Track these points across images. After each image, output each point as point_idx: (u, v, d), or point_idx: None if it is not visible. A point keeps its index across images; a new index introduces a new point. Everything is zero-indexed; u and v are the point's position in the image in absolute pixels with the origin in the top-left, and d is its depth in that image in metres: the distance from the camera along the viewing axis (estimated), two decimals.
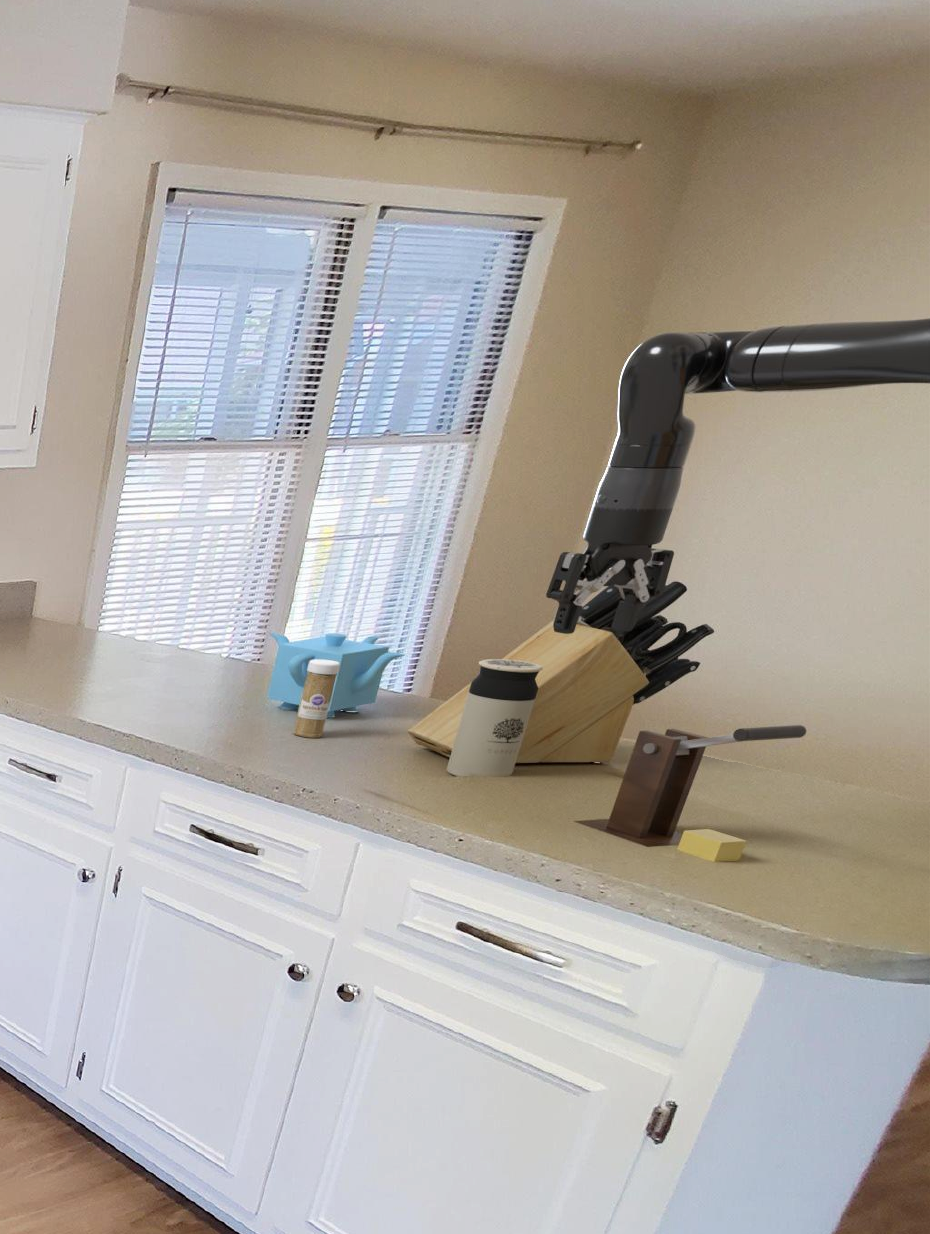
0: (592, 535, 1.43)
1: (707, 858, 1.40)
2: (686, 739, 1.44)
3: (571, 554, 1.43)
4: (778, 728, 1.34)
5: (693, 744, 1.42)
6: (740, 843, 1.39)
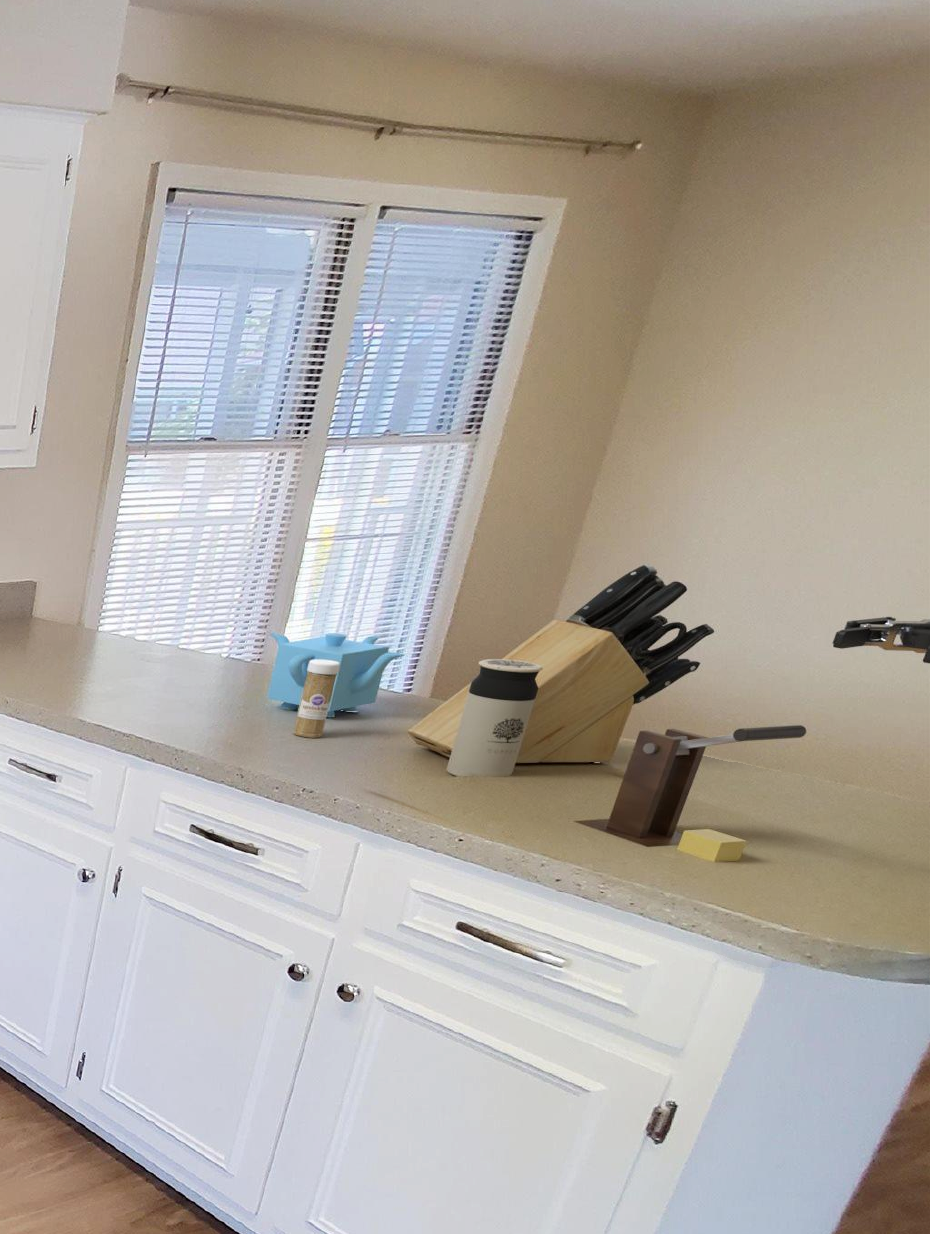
0: None
1: (707, 858, 1.40)
2: (686, 739, 1.44)
3: None
4: (778, 728, 1.34)
5: (693, 744, 1.42)
6: (740, 843, 1.39)
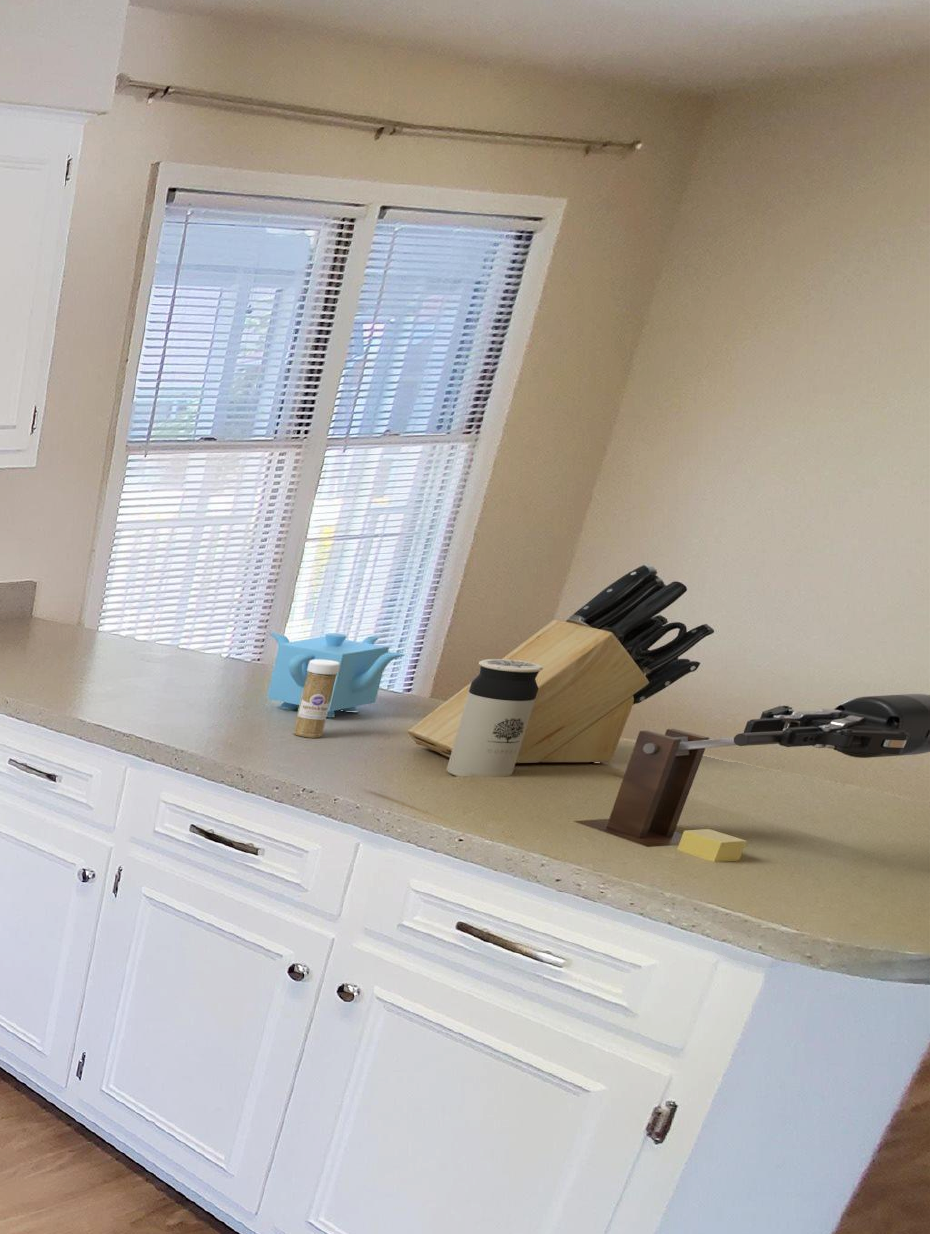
0: None
1: (707, 858, 1.40)
2: (686, 740, 1.44)
3: None
4: (779, 733, 1.34)
5: (693, 745, 1.42)
6: (740, 843, 1.39)
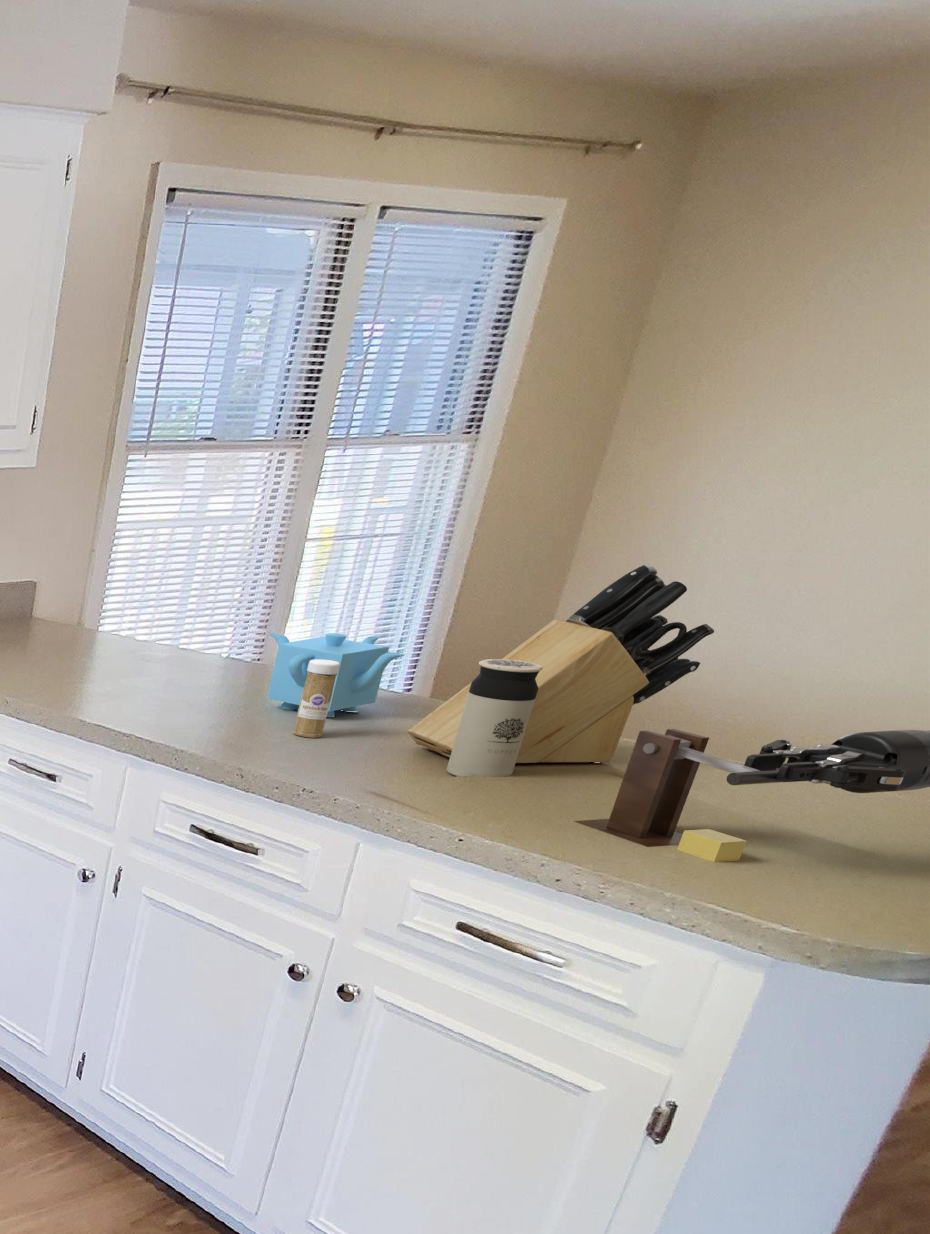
0: None
1: (707, 858, 1.40)
2: (688, 744, 1.44)
3: None
4: (773, 775, 1.35)
5: (691, 756, 1.42)
6: (740, 843, 1.39)
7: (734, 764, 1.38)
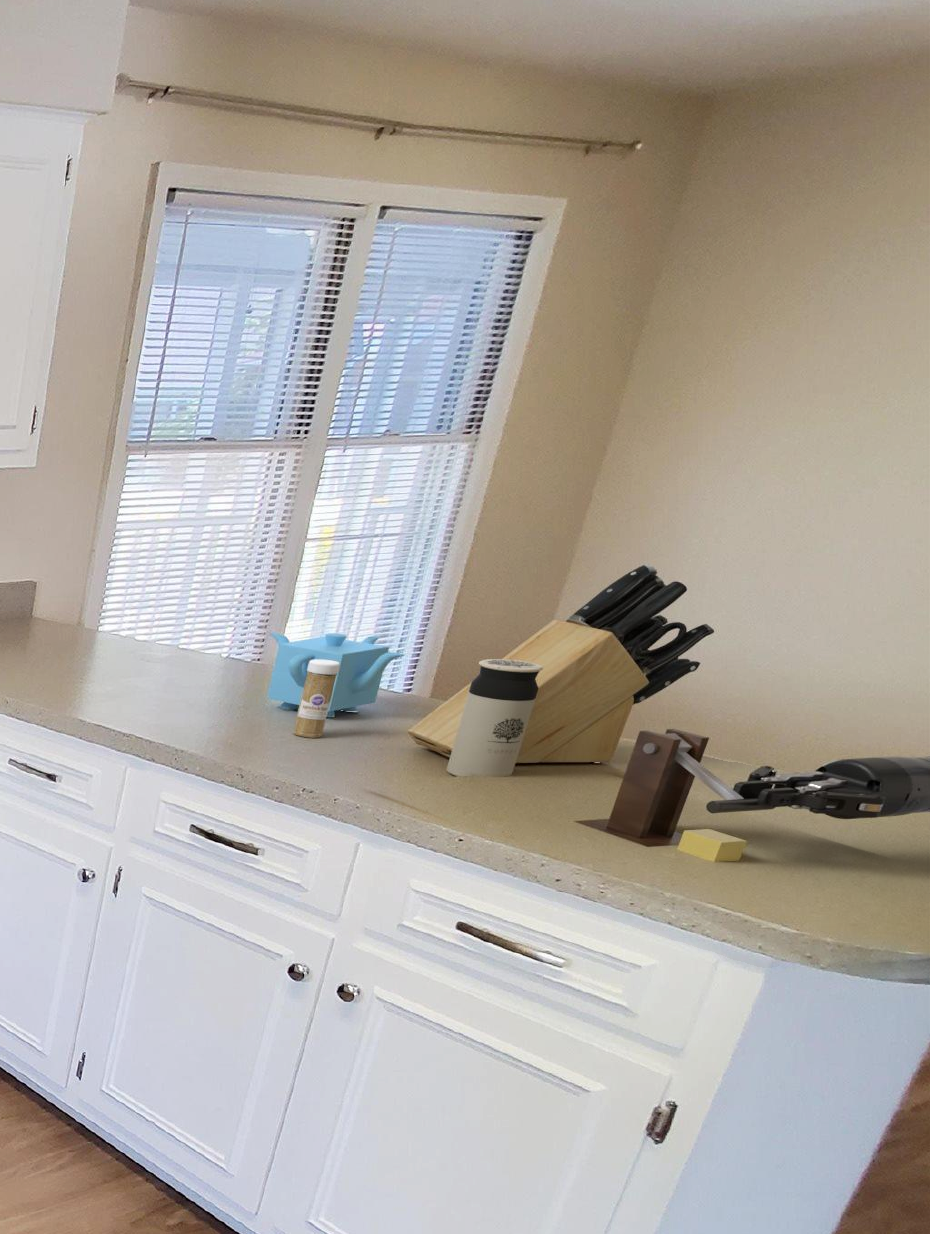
0: None
1: (707, 858, 1.40)
2: (688, 749, 1.44)
3: None
4: (752, 805, 1.37)
5: (685, 764, 1.43)
6: (740, 843, 1.39)
7: (721, 785, 1.40)
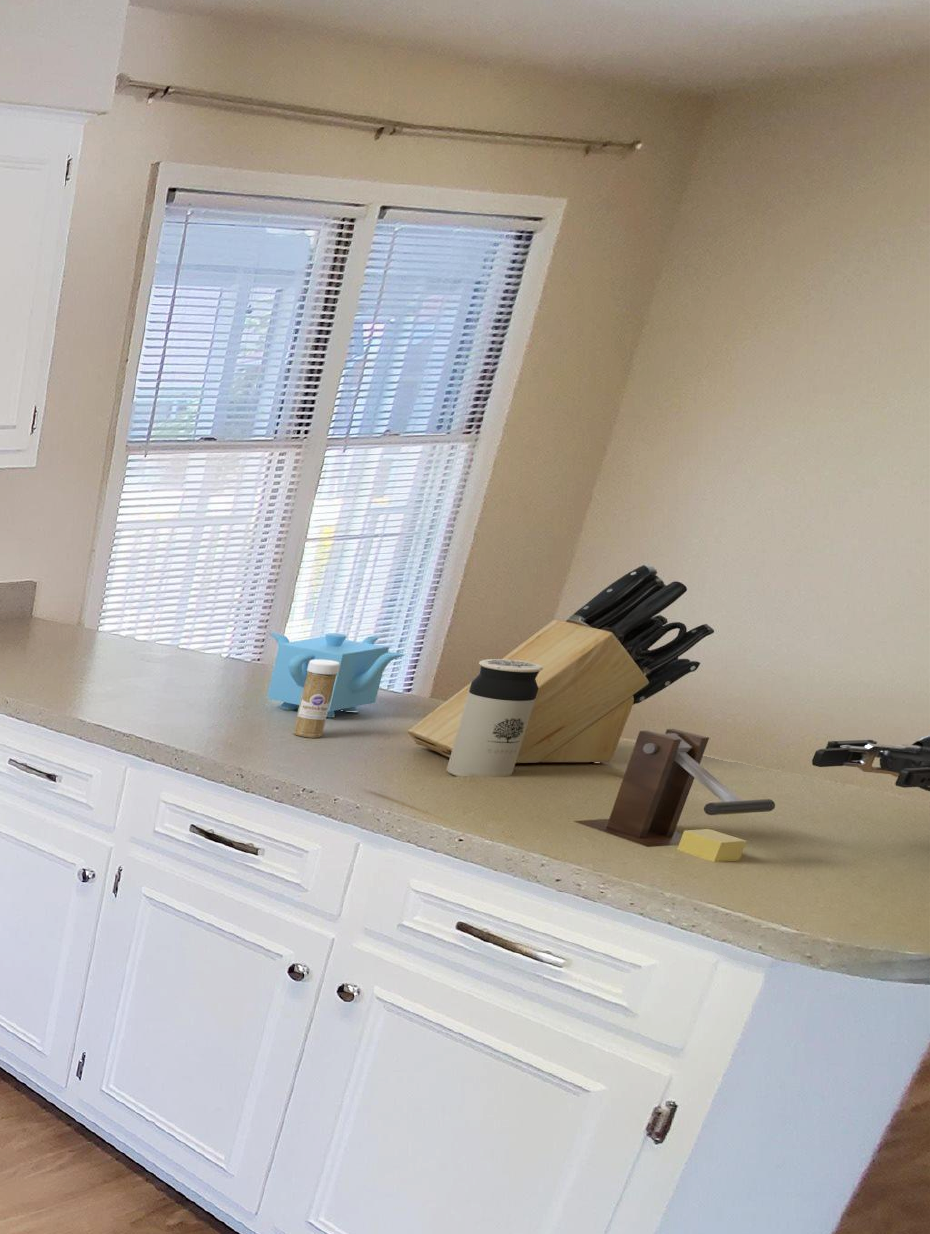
0: None
1: (707, 858, 1.40)
2: (688, 749, 1.44)
3: None
4: (749, 808, 1.37)
5: (684, 765, 1.43)
6: (740, 843, 1.39)
7: (720, 786, 1.40)
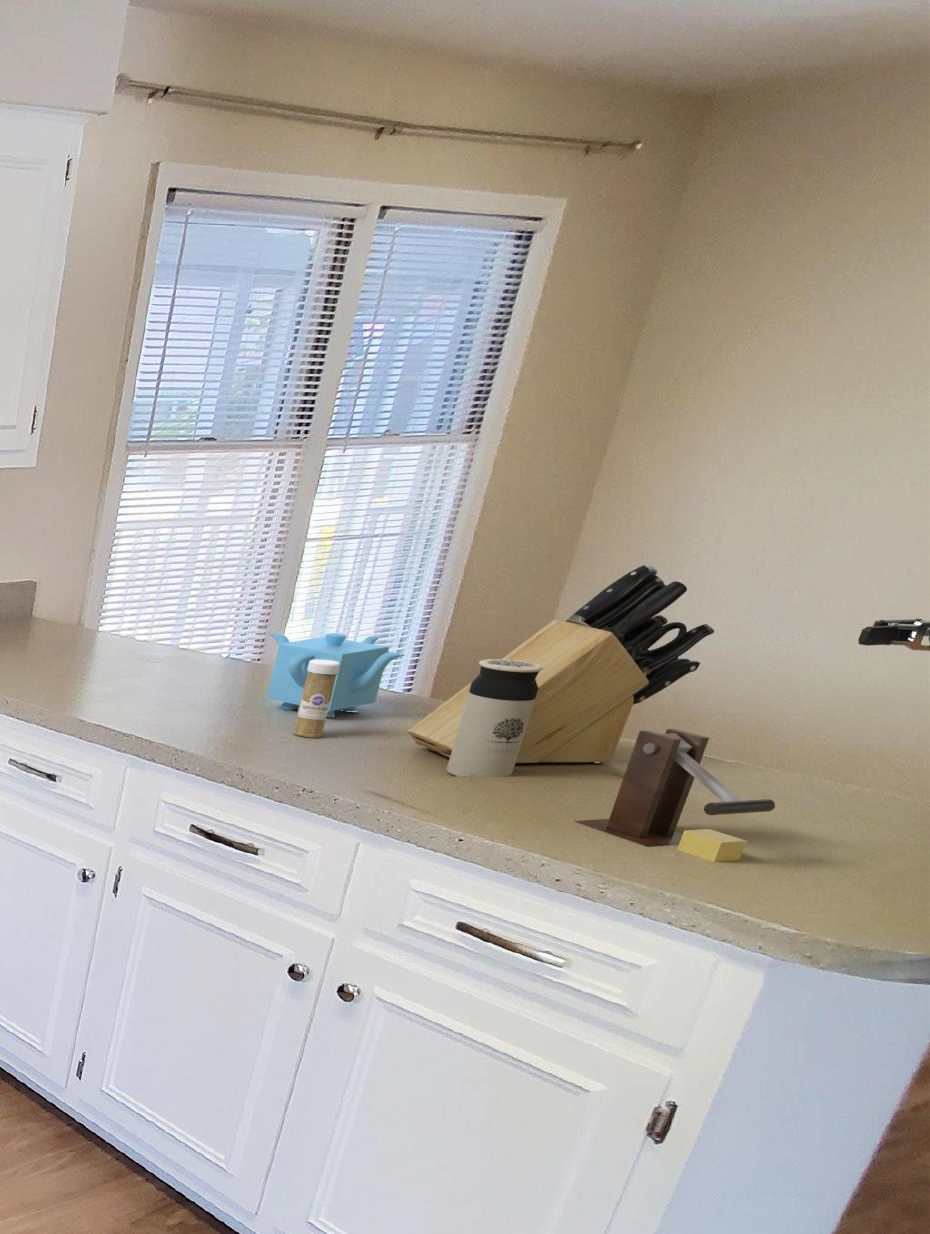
0: None
1: (707, 858, 1.40)
2: (688, 749, 1.44)
3: None
4: (749, 808, 1.37)
5: (684, 765, 1.43)
6: (740, 843, 1.39)
7: (720, 786, 1.40)
